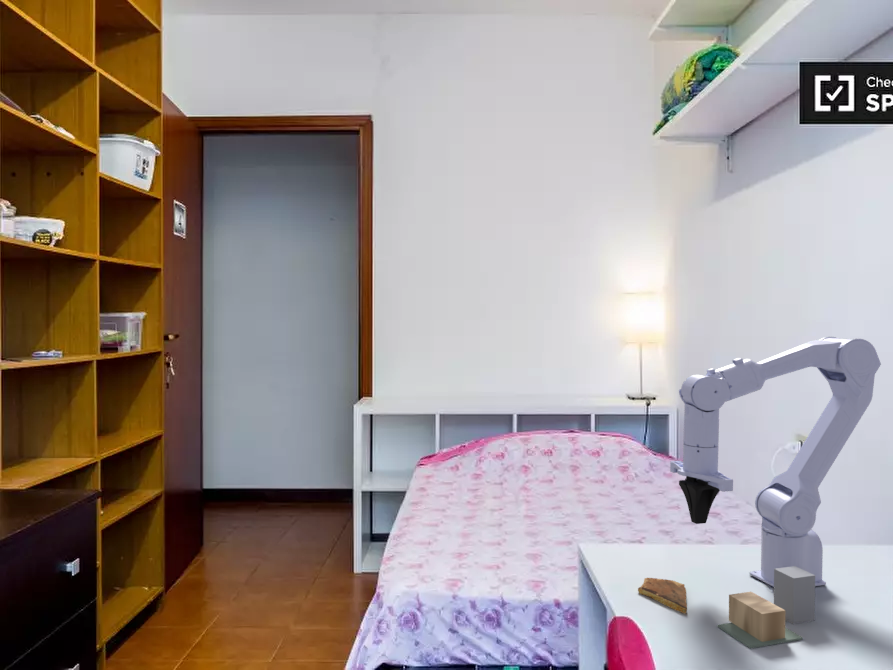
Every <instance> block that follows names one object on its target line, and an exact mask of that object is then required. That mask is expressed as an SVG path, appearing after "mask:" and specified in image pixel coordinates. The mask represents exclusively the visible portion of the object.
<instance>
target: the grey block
mask: <svg viewBox="0 0 893 670" xmlns="http://www.w3.org/2000/svg"><path fill="white" fill-rule="evenodd" d="M773 604H775V605H776V606H778V607H780V608H782V609H784V610H786V611H785V621H787V622H788V623H791V624H792V625H797V624H802V623H808V622H813V621H815V620H816V615H815V610H816V586H815V575H813V574H811V573H809V572H807V571H805V570H803V569H801V568H798V567H796V566H792V567H784V568H777V569H774V587H773Z"/></svg>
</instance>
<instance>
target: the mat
mask: <svg viewBox="0 0 893 670" xmlns="http://www.w3.org/2000/svg"><path fill="white" fill-rule="evenodd" d="M717 628H718V629H720V630H722V631H723V632H725V633H726V634H728V635H729V636H731V637H732V638H733V639H735V640H737V641H738V642H740V643H741V644H743V645H744V646H746V647H748V648H749V649H756V648H761V647H768V646H773V645H780V644H785V643H791V642H797V641H802V640H804V639H803V637H802V636H801V635H799V634H798V633H795V631H793V630H791V629H789V628H787V627H786V626H785V638H782V639H776V640H770V641H764V642H761V641H760V640H758V639H757V638H755V637H754V636H752V635H750V634H749V633H747V632H746V631H744V630H743V629H741V628H739V627H738V626H736V625H735V624H733V623H732V622H726V623H720V624H717Z"/></svg>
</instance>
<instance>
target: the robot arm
mask: <svg viewBox="0 0 893 670" xmlns="http://www.w3.org/2000/svg"><path fill="white" fill-rule="evenodd" d="M731 361H732V363H731V364H728V365H725V366H722V367H719V368H717V369H715V368H713V367H711V368H709V369H706V374H705V375H703V374H692V375H690V376H688V377H687V378H686V379H685V380H684V381H683V383H682V384H681V388H680V389H679V390H678V393H679V397H680V399H681V401H682V402H683V404H684V410H683V411H684V416H683V440H682V441H683V445H682V447H683V448H682V449H683V450H682V451H683V453H682V461H681V460H671V461H670V465H669V466H670V467H669V468H670V470H669V471H670V473H673V474H676V473H677V474H678V475H679V476H682V477H686V478H685V479H681V480H679V481H678V486H679V487H680V489H681V490H682V493H683V495H684V497H685V501H686V504H687V508H688V513H689V516H690V521H691V523H694V524H696V525H700V524H706V523H707V520H708V518H709V517H708V516H709V513H710V511H711V507H712V505H713V503H714V501H715V499H716V498H717V495H718V494H719V493H720V492H733V491H734V479H733V478H730V477H729V476H727V475H725V474H724V473H722V472H721V471H720V470H719V442H720V441H719V437H720V436H719V435H720V434H719V433H720V431H719V430H720V409H721V408H722V407H723V405H724V404H725V403H726V402H729V401H732V400H735V399H738V398H740V397H743V396H746V395H749V394H751V393H754V392H757V391H760V390H762V389H763V386H764V384H765V382H766V381H767V380H770V379H773V378H777V377H780V376H784V375H787V374H789V373H790V374H791V373H794V372H796V371H799V370H804V369H806V368H812V367H813V368H817V370H818V371H819V372H820V373H821V375H822V376H823V377H824V379H825V380H826V381H827V383H828V385H829V388H830V390H831V392H832V396H831V398H830V399H829V401H828V403H827V404H826V406H825V408H824V409H823V411H822V412H821V414H820V416H819V418H818V419H817V421H816V423H815V424H814V426H813V428H812V429H811V431H810V433H809V434H808V436H807V437H806V439H805V441H804V442H803V444H802V445H801V447H800V448H799V450H798V452H797V453H796V455H795V457H794V458H793V460H792V462H791V463H790V464H789V465H788V466H789V467H788V468H787V470H786V471H784V472H782V473H780V474H778V475H776V476H774V477H773V479H772V480H771V481H770V482H769V484H768V485H766V486H765V487H763V488H762V489H761V490H759V492H758V493H757V495H756V497H755V501H754V504H755V505H754V506H755V509H756V512H757V513H758V515H759V516H760V517H761V531H760V532H761V536H760V537H761V539H760V540H761V542H760V545H761V547H760V550H761V551H760V569H759V570H752V571H749V575H750V576H751V577H753V578H756V579H758V580H760V581H761V582H763V583H766V584H767V585H769V586H771V587H773V588H774V569H777V568H784V567H792V566H796V567H798V568H801V569H803V570H805V571H807V572H809V573H811V574H813V575H815V587H819V586H825V585H827V582H826V581H825V580H823V553H824V552H823V544H822V541H821V538H820V536H819V535H818V533H817V532H816V531H815V530H814V529H813V527H814V525H815V523H816V519H817V517H816V516H817V511H818V509H819V506H820V505H821V503H822V500H821V496H820V492H819V487H820V485H821V483H822V482H823V481H824V479H825V477H826V475H827V474H828V472H829V471H830V469H831V468H832V466H833V464H834V463H835V461H836V459H837V458H838V456H839V454H840V453H841V452H842V449H843V447H845V445H846V443H847V441H848V440H849V438H850V437H851V435H852V433H853V432H854V431H855V428H856V427H857V425H858V423H859V422H860V420H861V419H862V417H863V415H864V414H865V412H866V411H867V409H868V407H869V405H870V404H871V402H872V400H873V395H874V394H873V393H874V384H875V376H876V373H877V372H878V370H879V369H880V367H881V365H882V363H881V360H880V358H879V355H878V353H877V350H876V348H875V346H874V345H873V344H872V343H871V342H869V340H866V339H864V338H853V339H852V338H843V337H842V338H841V337H836V336H825V337H822V338H820V339H814V340H809V341H807V342H805V343H802V344H800V345H797V346H794V347H793V348H790V349H787V350H786V351H785V350H784V351H783V352H780V353H778V354H775V355H772V356H771V357H767V358H765V359H762V360H760V361H758V362H756V361H754V360H753V359H750V358H744V359H743V358H742V357H736V358H734V359H732V360H731Z"/></svg>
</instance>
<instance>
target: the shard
mask: <svg viewBox="0 0 893 670" xmlns="http://www.w3.org/2000/svg"><path fill="white" fill-rule="evenodd" d="M637 592H638V594H640V595H643V596H647V597H649V598H651V599H653V600H655V601H657V602H658V603H660V604H662V605H664V606H667V607H668V608H670V609H673V610H675V611H676V612H679V613H682V614H685V615H687V611H688V604H687V589H686V587H685V584H684V583H681V582H678V581H675V580H671V579H666V578H665V579H664V578H656V577H655V578H654V577H644V579H643V583H642V585H641V586H640V587H638V588H637Z"/></svg>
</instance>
